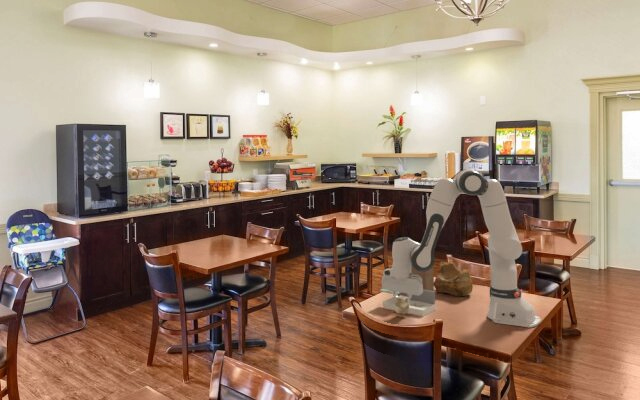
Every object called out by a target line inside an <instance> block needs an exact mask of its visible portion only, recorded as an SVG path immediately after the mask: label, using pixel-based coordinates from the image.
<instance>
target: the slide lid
mask: <svg viewBox="0 0 640 400" xmlns="http://www.w3.org/2000/svg"><path fill="white" fill-rule="evenodd" d="M379 292H380V293H387V294H391V295H393V293H392V291H391V290H386V289H383V288H381V289H379ZM396 293H397V295H398V294H400V293H402V292H396Z"/></svg>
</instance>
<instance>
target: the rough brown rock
mask: <svg viewBox="0 0 640 400" xmlns="http://www.w3.org/2000/svg"><path fill="white" fill-rule="evenodd" d="M438 267H439V268H438V272H437V275H436V277H435V278H434V290H435V292H436V293H441V294H442V293H447V294H449V295H452V296H454V297H460V296H462V297H463V296H468V295H470V294H471V293H472V292H473V289H474V288H473V286H474V285H473V280H472V277H471V272H470V270H469V269H463V270H461V269H460V268H458V267H457V265H456V263H455V262H451V261H447V262H446V261H440V262H439V266H438Z"/></svg>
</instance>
